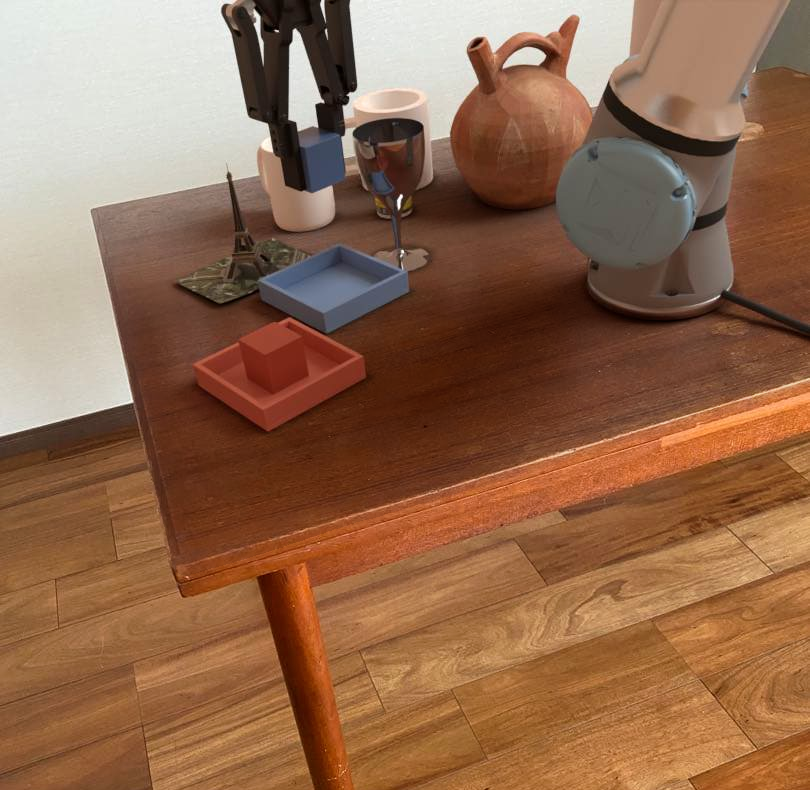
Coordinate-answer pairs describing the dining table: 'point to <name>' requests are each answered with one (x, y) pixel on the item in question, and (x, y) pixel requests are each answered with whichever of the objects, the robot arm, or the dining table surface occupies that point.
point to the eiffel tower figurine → (241, 262)
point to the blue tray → (333, 287)
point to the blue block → (321, 158)
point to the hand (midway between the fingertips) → (315, 178)
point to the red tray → (327, 377)
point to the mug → (394, 106)
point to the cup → (292, 196)
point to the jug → (520, 121)
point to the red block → (274, 357)
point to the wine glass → (392, 176)
